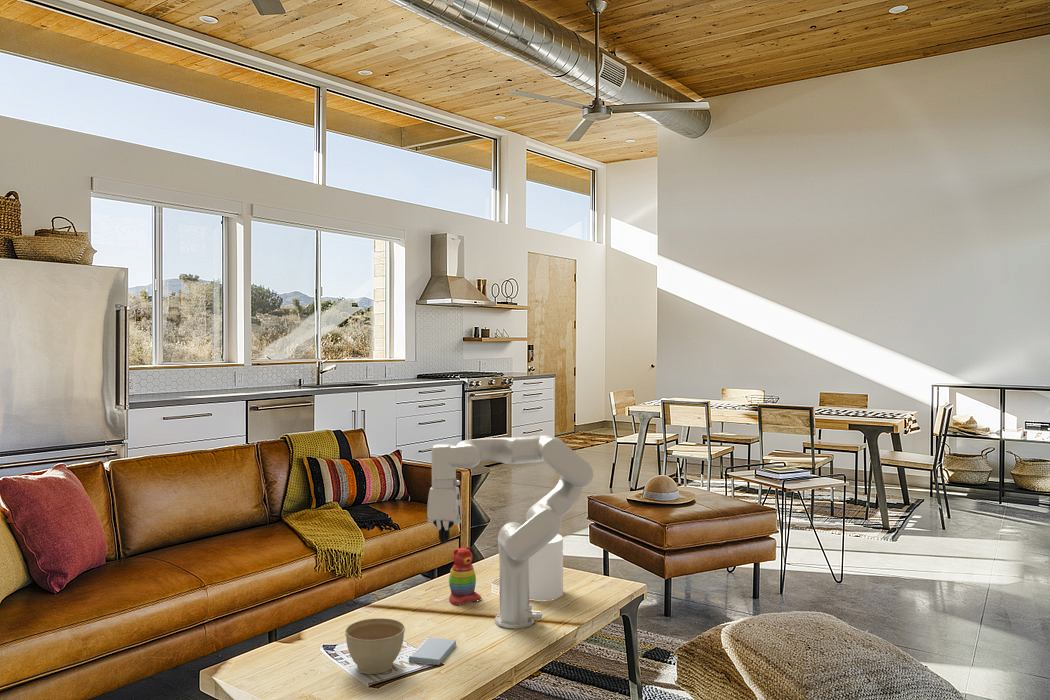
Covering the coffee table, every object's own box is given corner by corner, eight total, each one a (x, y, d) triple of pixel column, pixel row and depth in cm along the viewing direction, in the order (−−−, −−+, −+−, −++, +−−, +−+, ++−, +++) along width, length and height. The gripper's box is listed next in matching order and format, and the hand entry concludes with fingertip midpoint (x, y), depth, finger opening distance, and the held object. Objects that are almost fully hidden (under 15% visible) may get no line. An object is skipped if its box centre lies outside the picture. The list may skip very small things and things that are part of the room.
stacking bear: (454, 606, 256) (454, 554, 256) (442, 597, 265) (442, 547, 265) (483, 600, 261) (483, 549, 261) (470, 592, 270) (470, 542, 270)
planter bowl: (393, 682, 199) (393, 641, 199) (335, 678, 202) (335, 637, 202) (412, 657, 215) (412, 619, 215) (359, 653, 218) (359, 616, 218)
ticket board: (456, 645, 224) (455, 639, 224) (439, 664, 210) (438, 659, 210) (427, 642, 226) (427, 637, 226) (408, 661, 212) (408, 656, 212)
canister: (572, 592, 269) (572, 536, 269) (543, 604, 257) (543, 546, 257) (537, 583, 280) (537, 529, 279) (508, 594, 268) (508, 538, 267)
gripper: (470, 482, 238) (470, 540, 239) (426, 480, 242) (426, 537, 242) (462, 487, 231) (462, 546, 231) (416, 484, 235) (417, 543, 235)
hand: (444, 541), depth 237 cm, fingers closed
